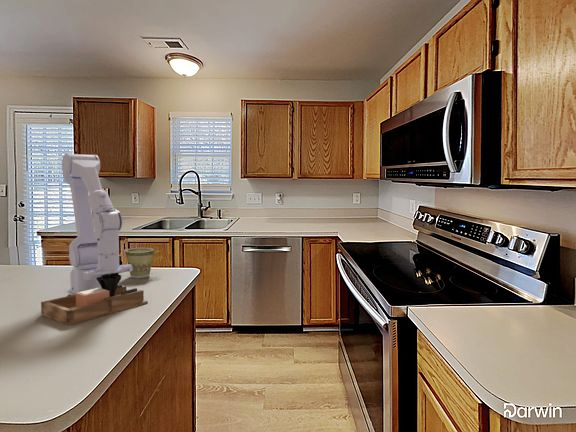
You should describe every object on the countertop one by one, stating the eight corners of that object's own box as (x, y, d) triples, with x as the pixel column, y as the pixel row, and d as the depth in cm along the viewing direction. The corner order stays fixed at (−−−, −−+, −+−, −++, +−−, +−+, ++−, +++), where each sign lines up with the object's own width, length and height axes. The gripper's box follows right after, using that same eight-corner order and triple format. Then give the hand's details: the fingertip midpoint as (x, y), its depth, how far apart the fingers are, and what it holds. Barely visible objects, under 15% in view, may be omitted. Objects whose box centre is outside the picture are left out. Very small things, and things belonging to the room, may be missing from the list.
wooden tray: (41, 315, 119) (40, 299, 118) (119, 295, 138) (119, 282, 138) (69, 325, 111) (68, 308, 111) (147, 303, 131) (147, 288, 131)
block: (76, 309, 122) (75, 292, 122) (99, 303, 128) (98, 287, 128) (86, 312, 119) (86, 295, 119) (109, 306, 125) (109, 289, 125)
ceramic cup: (128, 280, 158) (127, 253, 157) (123, 275, 167) (123, 248, 166) (165, 277, 165) (164, 250, 164) (158, 271, 173) (158, 246, 172)
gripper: (93, 258, 118) (94, 308, 120) (138, 251, 130) (139, 296, 132) (78, 255, 122) (79, 303, 124) (123, 248, 134) (124, 292, 136)
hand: (109, 299), depth 128 cm, fingers closed
